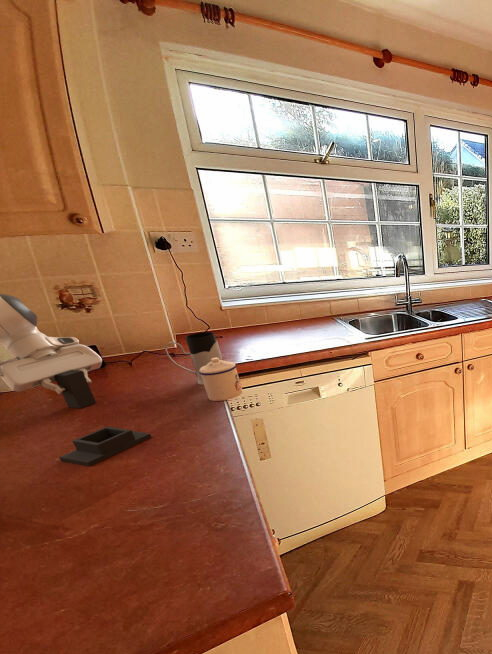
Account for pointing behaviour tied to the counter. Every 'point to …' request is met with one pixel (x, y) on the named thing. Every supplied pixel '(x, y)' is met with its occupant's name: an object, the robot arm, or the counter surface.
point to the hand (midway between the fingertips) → (76, 387)
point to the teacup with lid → (221, 380)
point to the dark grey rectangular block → (75, 389)
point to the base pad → (103, 445)
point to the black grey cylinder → (200, 351)
